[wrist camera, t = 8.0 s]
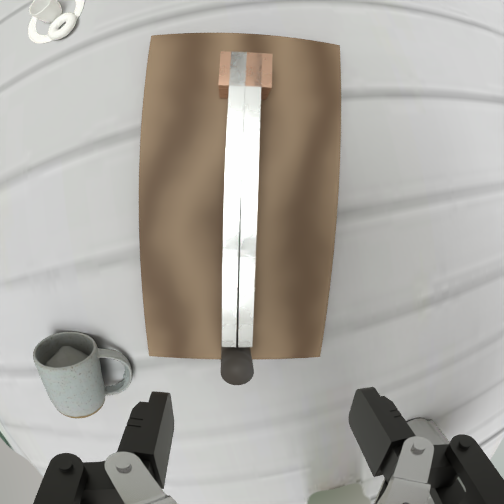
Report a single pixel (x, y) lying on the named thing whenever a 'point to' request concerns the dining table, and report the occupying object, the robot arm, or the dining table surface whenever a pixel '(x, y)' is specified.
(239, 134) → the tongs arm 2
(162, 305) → the walnut board
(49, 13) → the teacup and saucer
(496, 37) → the dining table surface
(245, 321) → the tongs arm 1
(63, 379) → the ceramic mug
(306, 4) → the dining table surface
